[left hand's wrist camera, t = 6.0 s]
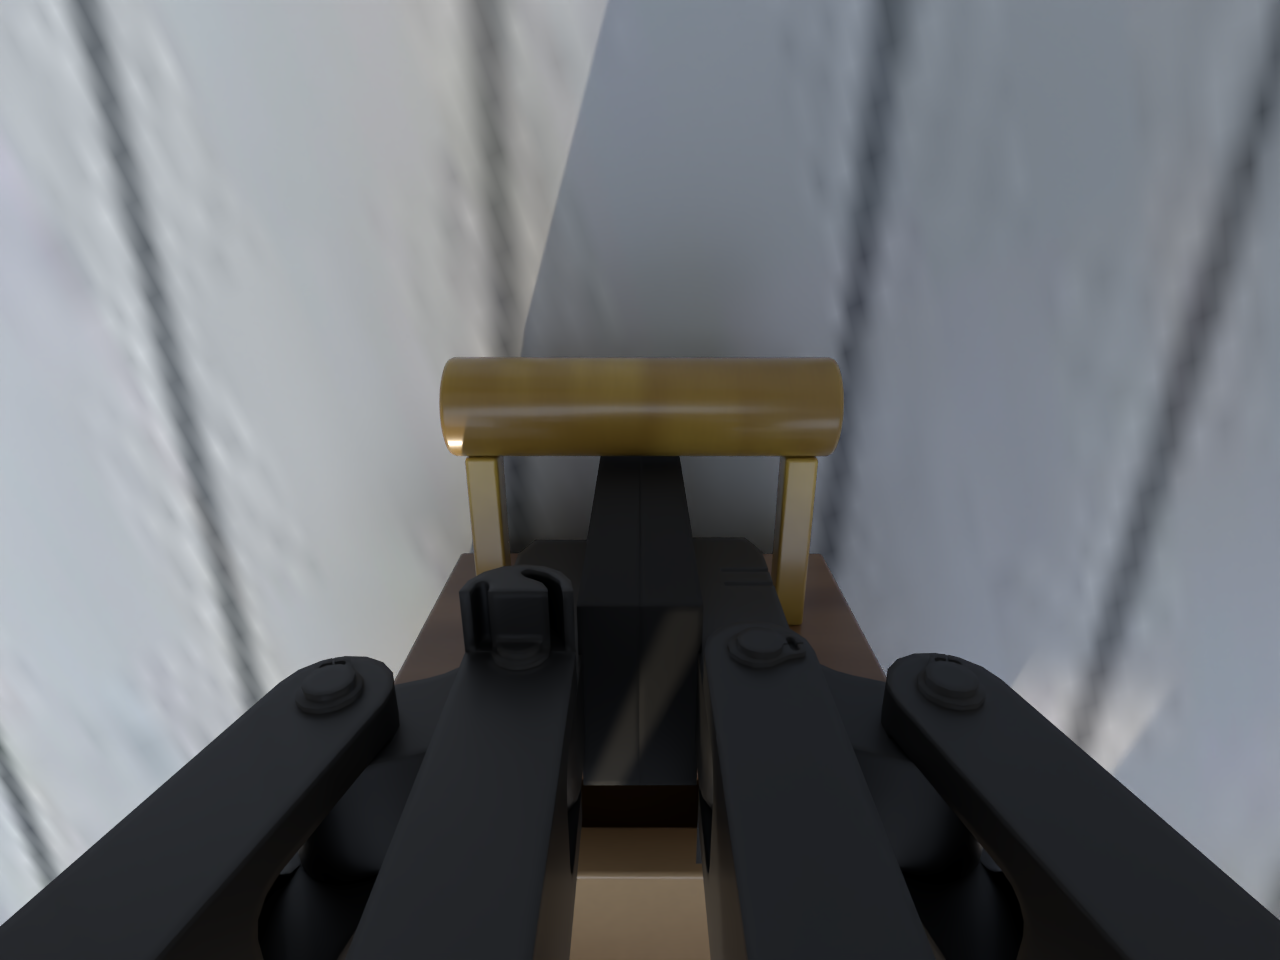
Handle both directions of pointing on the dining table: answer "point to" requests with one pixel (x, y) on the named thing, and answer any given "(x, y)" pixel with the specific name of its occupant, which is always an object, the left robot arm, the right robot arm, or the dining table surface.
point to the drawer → (647, 426)
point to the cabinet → (639, 896)
